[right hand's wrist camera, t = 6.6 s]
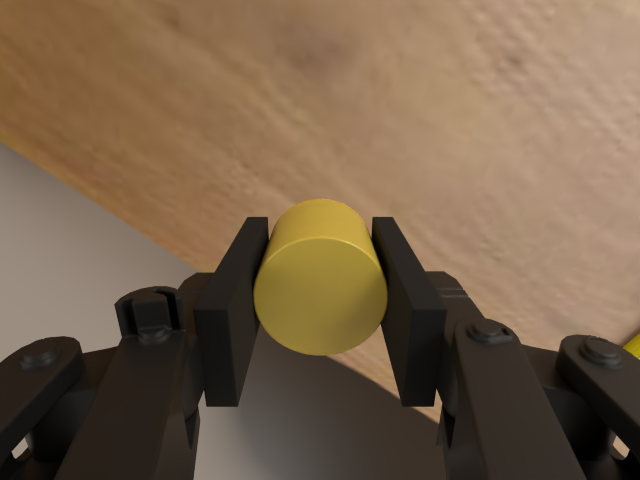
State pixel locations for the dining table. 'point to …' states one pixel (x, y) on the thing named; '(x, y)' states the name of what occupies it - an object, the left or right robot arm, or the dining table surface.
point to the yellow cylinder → (320, 280)
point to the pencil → (634, 346)
